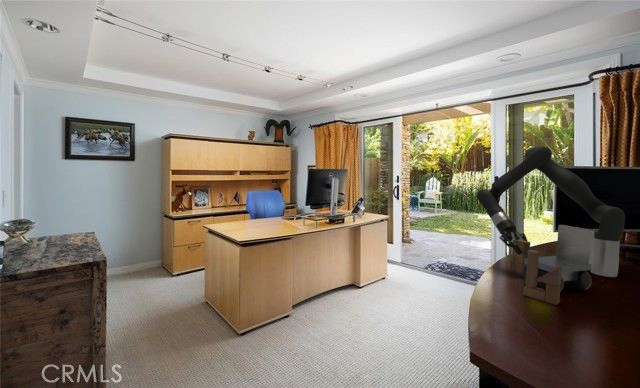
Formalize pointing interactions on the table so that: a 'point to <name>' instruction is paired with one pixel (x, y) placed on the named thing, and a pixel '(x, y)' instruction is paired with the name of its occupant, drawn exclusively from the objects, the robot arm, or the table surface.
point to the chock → (524, 248)
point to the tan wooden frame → (550, 278)
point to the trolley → (569, 258)
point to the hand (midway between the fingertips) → (524, 253)
